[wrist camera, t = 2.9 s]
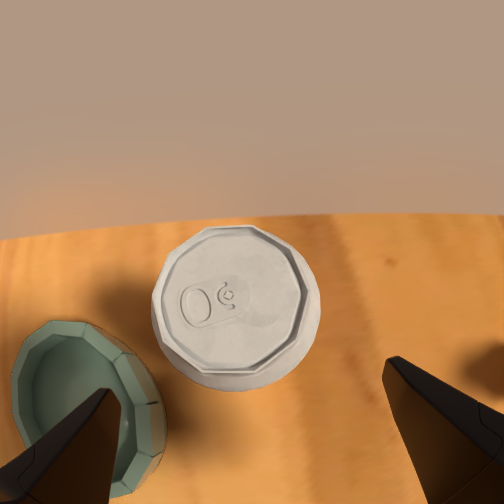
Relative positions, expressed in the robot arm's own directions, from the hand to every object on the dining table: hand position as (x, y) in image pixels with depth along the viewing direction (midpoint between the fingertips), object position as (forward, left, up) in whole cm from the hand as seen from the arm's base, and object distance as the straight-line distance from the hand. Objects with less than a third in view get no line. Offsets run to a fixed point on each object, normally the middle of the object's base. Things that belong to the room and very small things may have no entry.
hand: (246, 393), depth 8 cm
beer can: (+2, +1, -10) cm, 10 cm away
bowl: (-9, +9, -10) cm, 16 cm away
